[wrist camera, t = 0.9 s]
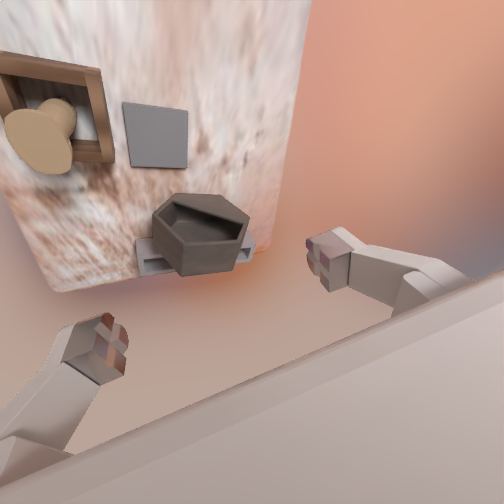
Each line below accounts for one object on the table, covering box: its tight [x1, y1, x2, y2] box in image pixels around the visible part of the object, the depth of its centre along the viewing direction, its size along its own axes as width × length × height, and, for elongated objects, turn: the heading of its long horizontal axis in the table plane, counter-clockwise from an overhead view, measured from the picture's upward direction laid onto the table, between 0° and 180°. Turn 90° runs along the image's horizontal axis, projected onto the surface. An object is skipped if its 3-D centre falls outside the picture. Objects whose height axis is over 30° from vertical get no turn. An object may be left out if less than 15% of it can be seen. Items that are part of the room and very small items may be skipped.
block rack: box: [136, 230, 256, 277], centre depth 59 cm, size 7×29×6 cm, turn 78°
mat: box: [122, 102, 188, 168], centre depth 41 cm, size 10×10×1 cm
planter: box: [152, 193, 250, 277], centre depth 48 cm, size 17×8×21 cm
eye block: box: [0, 51, 115, 163], centre depth 32 cm, size 12×12×5 cm
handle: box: [5, 97, 76, 175], centre depth 29 cm, size 5×6×15 cm
